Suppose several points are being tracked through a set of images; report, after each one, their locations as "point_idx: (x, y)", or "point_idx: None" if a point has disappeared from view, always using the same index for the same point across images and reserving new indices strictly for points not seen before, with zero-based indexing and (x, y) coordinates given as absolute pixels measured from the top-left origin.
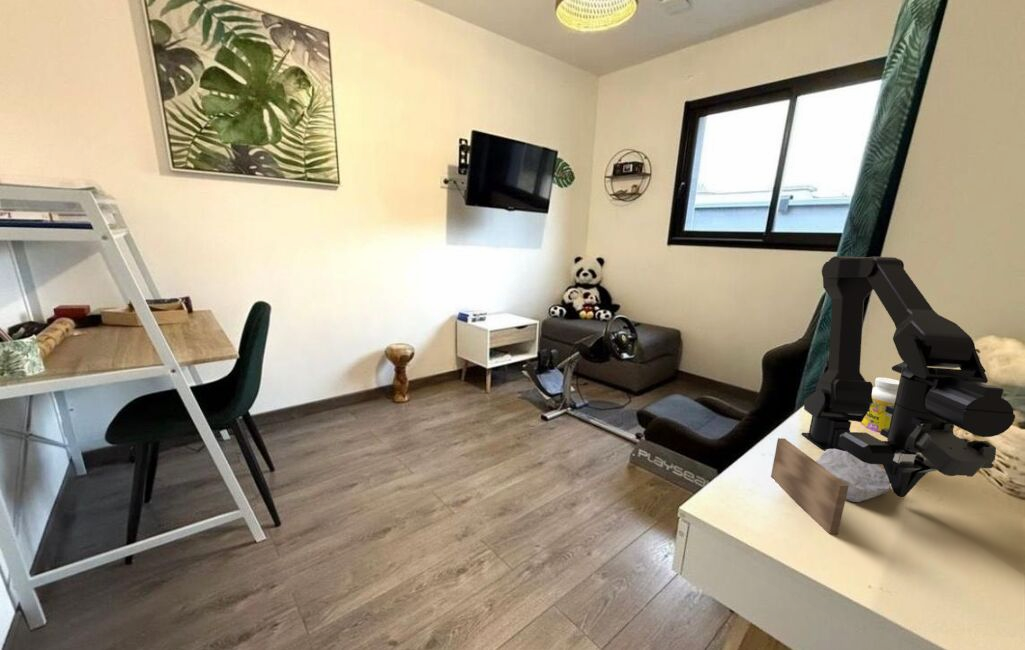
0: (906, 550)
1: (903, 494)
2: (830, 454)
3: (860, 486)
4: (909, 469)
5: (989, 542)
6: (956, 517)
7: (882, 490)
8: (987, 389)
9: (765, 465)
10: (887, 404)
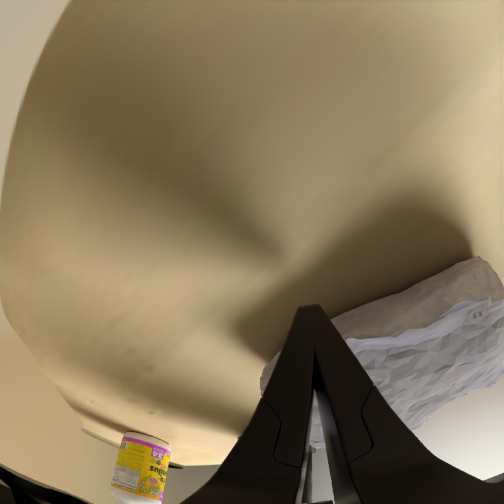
0: (499, 3)
1: (310, 317)
2: None
3: (493, 315)
4: (461, 493)
5: (76, 93)
6: (105, 240)
7: (398, 323)
8: None
9: None
10: (138, 491)
